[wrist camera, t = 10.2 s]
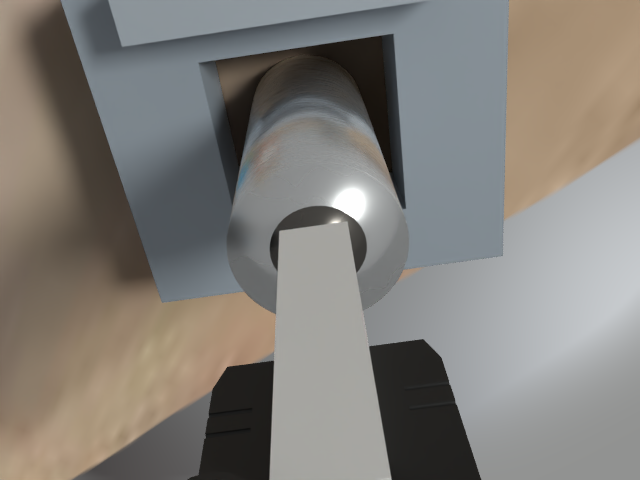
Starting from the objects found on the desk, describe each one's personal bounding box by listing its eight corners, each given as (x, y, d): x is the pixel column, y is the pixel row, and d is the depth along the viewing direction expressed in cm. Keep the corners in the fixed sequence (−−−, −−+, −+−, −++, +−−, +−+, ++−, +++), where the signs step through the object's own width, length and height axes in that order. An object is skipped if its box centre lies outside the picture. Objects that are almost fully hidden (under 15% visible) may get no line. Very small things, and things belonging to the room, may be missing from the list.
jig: (176, 257, 27) (153, 330, 23) (91, -22, 21) (35, -1, 17) (478, 215, 27) (517, 280, 22) (478, -83, 21) (531, -78, 16)
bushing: (263, 169, 25) (246, 332, 16) (242, 63, 23) (207, 179, 13) (367, 154, 25) (414, 310, 16) (356, 46, 23) (403, 151, 13)
